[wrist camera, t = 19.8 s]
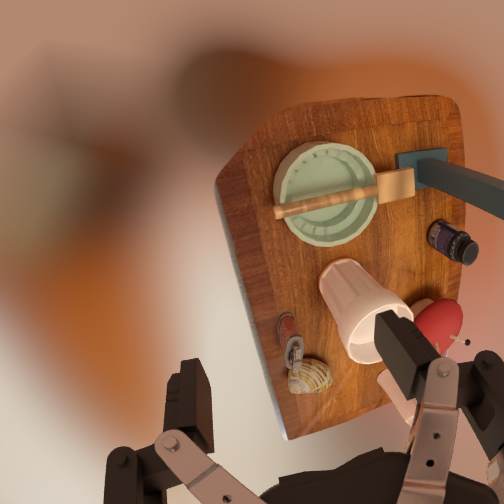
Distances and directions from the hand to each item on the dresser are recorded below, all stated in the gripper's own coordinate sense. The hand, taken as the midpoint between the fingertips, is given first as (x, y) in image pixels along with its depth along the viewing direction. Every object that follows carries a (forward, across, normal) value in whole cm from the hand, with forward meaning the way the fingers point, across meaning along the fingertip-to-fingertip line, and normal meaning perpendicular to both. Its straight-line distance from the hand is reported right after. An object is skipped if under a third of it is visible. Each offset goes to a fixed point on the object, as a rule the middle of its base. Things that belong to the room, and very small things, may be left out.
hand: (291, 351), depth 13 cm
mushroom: (+37, -35, +37) cm, 63 cm away
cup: (+37, -16, +22) cm, 46 cm away
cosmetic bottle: (+37, -28, +56) cm, 73 cm away
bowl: (+37, -13, +4) cm, 40 cm away
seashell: (+37, -7, +44) cm, 57 cm away
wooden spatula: (+31, -16, +4) cm, 35 cm away
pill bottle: (+38, -38, +18) cm, 57 cm away
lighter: (+37, -4, +31) cm, 48 cm away
